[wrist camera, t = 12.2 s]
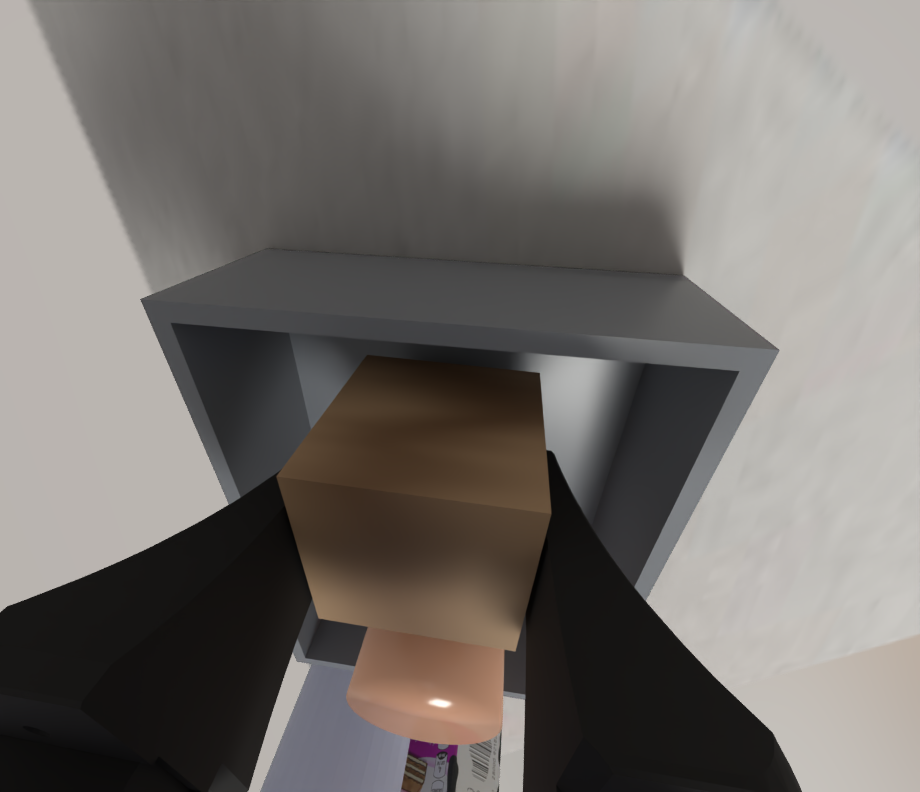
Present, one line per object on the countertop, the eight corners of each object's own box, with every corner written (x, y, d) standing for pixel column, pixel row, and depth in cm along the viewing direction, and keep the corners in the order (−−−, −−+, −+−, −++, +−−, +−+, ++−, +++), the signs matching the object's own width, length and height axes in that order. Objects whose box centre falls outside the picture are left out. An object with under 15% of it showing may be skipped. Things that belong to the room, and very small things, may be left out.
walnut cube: (539, 372, 11) (551, 513, 7) (517, 496, 14) (515, 651, 9) (367, 354, 11) (276, 476, 7) (379, 478, 14) (318, 618, 10)
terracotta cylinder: (530, 529, 17) (536, 724, 11) (467, 576, 20) (445, 754, 14) (438, 475, 16) (392, 659, 10) (383, 531, 19) (322, 705, 13)
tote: (573, 596, 21) (587, 710, 16) (339, 563, 22) (296, 661, 18) (683, 275, 11) (779, 350, 7) (266, 248, 13) (140, 298, 8)
